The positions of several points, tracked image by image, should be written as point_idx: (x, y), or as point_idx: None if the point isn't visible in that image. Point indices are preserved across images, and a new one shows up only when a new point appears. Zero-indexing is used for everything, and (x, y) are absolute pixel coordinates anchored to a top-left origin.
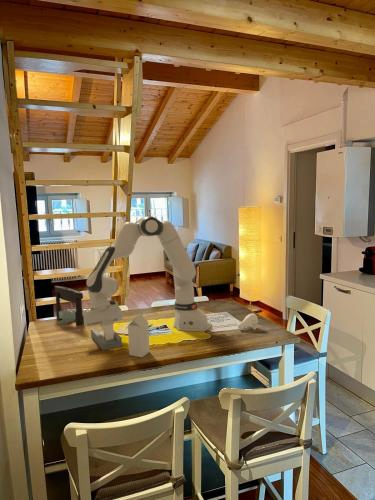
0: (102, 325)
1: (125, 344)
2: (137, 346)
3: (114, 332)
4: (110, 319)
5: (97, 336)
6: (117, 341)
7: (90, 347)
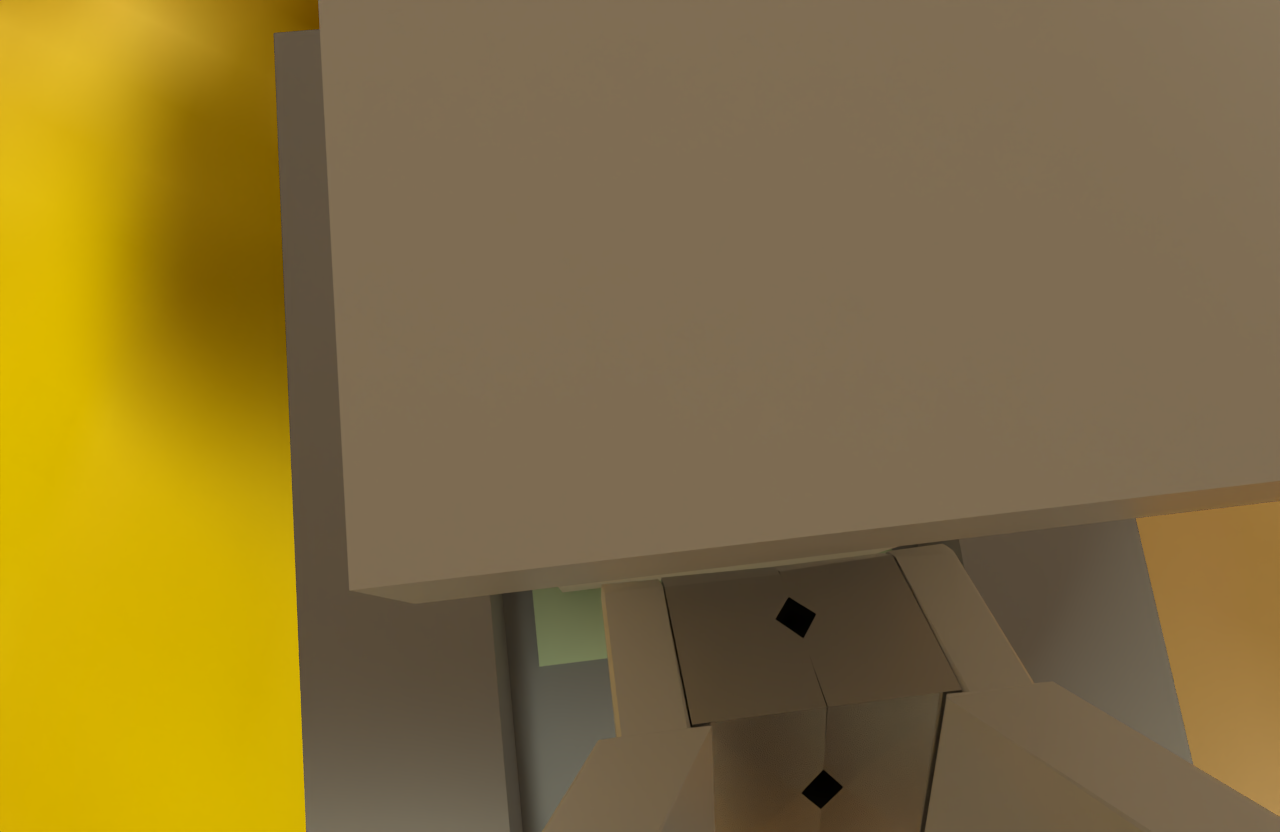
0: (1155, 780)
1: (227, 277)
2: None
3: (368, 789)
4: (465, 470)
5: (1157, 614)
6: None
7: (1228, 514)
